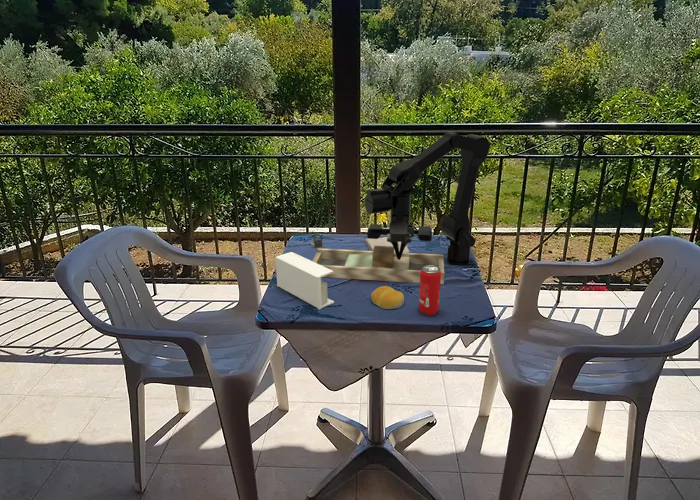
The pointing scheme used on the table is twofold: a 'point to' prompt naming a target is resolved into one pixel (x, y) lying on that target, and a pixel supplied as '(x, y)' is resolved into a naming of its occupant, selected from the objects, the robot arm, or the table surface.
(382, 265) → the walnut block
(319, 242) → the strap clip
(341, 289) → the table surface
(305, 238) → the table surface
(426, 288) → the beverage can
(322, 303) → the white plastic beam
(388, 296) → the bread roll
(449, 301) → the table surface
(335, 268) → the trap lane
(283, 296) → the table surface
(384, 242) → the washcloth
